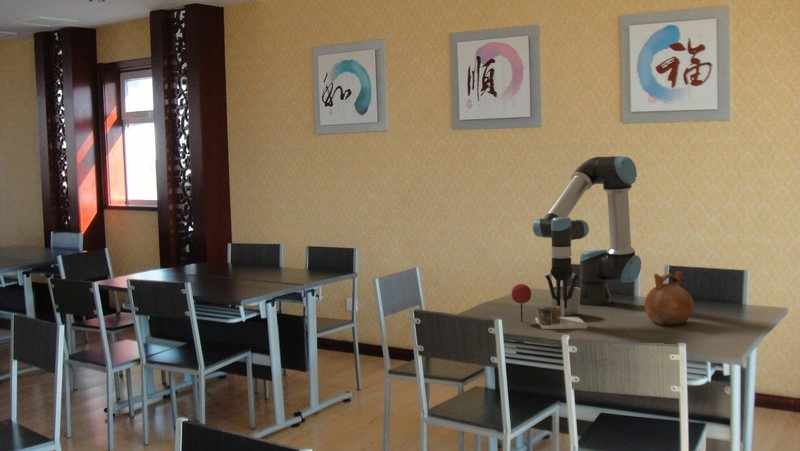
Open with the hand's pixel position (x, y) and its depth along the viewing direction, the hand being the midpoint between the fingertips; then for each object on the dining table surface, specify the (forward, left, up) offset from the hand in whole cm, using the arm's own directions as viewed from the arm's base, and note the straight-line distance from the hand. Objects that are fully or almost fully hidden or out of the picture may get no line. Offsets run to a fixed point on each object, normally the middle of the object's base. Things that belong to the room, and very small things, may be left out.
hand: (561, 316), depth 320 cm
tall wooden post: (+7, +3, -3) cm, 8 cm away
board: (+1, +3, -3) cm, 4 cm away
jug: (-41, +4, -3) cm, 41 cm away
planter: (-5, -16, -3) cm, 17 cm away
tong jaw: (+5, +3, -1) cm, 6 cm away
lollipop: (+15, -4, -3) cm, 16 cm away
